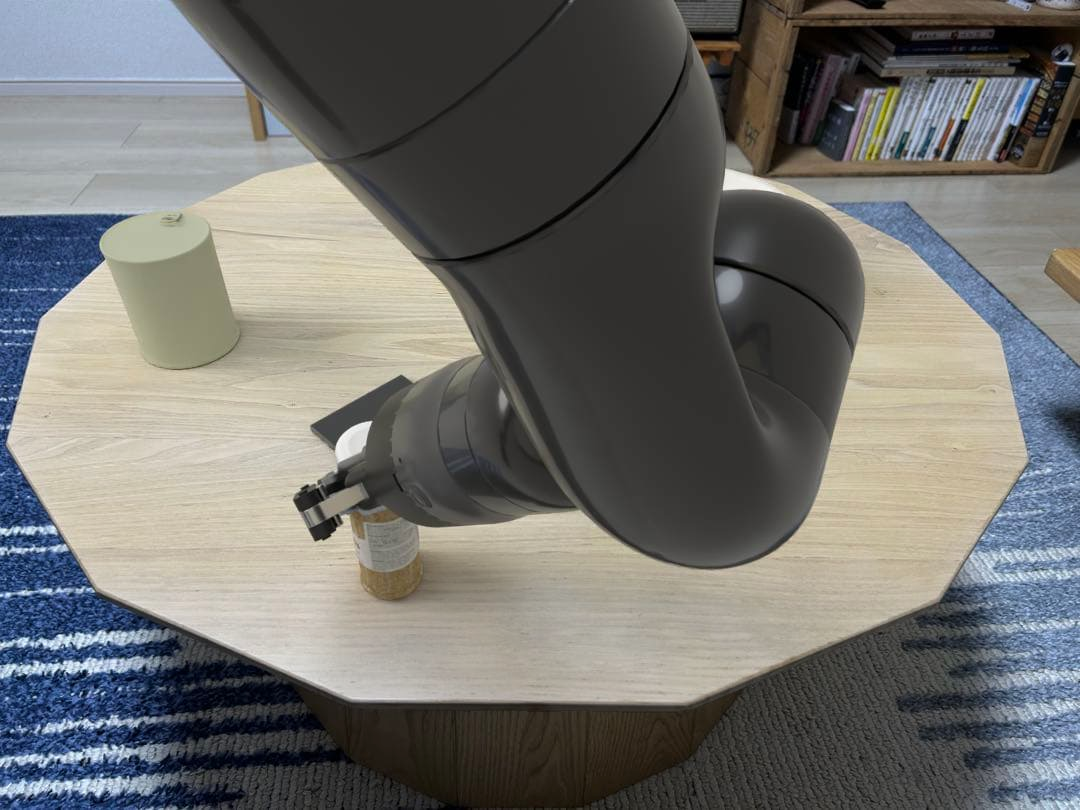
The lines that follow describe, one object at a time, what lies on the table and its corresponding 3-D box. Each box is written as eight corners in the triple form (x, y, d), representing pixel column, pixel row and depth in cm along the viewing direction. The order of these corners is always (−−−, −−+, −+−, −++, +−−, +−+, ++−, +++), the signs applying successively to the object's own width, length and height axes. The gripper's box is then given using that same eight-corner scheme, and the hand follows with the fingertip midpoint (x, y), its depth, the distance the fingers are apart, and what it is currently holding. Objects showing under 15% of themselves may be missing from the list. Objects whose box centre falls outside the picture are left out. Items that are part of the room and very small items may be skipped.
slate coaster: (382, 492, 61) (381, 487, 61) (310, 430, 66) (309, 425, 66) (474, 431, 67) (474, 426, 66) (401, 378, 72) (401, 373, 71)
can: (254, 316, 78) (226, 209, 70) (217, 373, 71) (181, 261, 63) (167, 309, 79) (129, 201, 71) (121, 365, 72) (74, 252, 64)
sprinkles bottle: (360, 554, 57) (334, 420, 48) (422, 547, 57) (409, 414, 48) (360, 607, 53) (332, 474, 44) (426, 599, 54) (412, 466, 45)
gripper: (549, 315, 39) (427, 379, 54) (292, 440, 32) (232, 475, 46) (613, 446, 40) (475, 474, 54) (376, 598, 32) (290, 583, 47)
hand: (363, 474), depth 50 cm, fingers closed on sprinkles bottle, 4 cm apart
